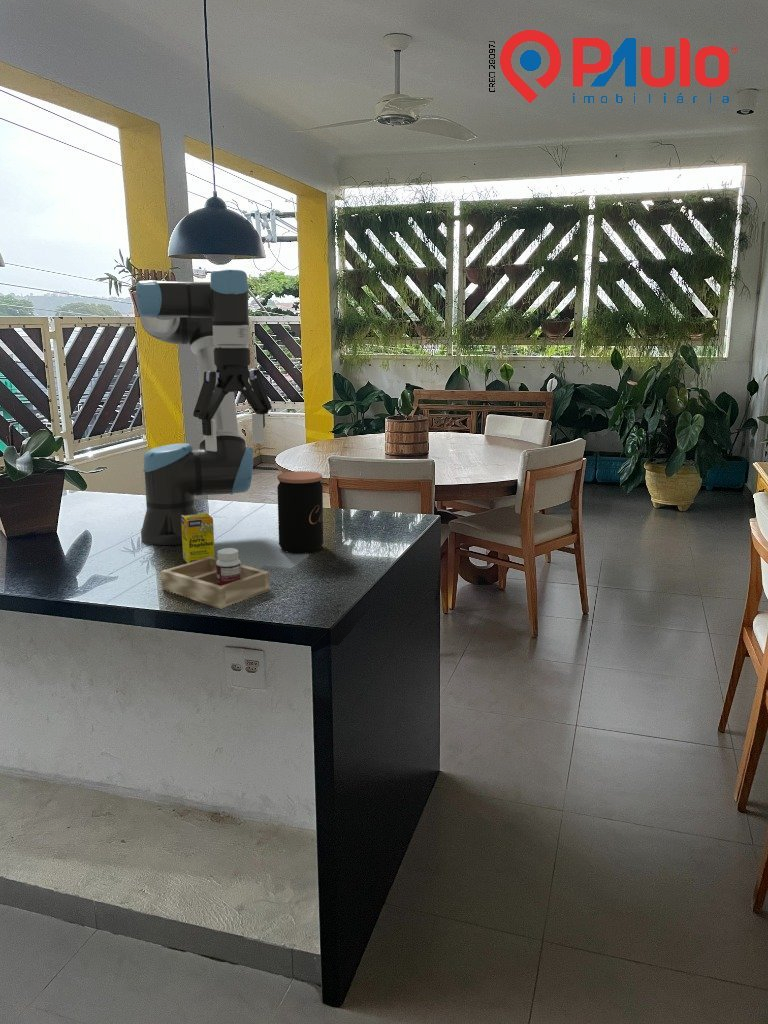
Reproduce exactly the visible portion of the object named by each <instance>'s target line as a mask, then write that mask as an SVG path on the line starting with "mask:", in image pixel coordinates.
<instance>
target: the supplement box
mask: <svg viewBox="0 0 768 1024" xmlns="http://www.w3.org/2000/svg"><path fill="white" fill-rule="evenodd" d="M181 525H182V544H181V546H182V561H183V562H184V564H186V563H190V562H193V561H197V560H200V559H203V558H207V557H210V556H211V557H215V556H216V555H215V533H214V519H213V517H212V516H211V515H210V514H209V513H208V512H202V513H197V514H191V515H181ZM215 558H216V557H215Z"/></svg>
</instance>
